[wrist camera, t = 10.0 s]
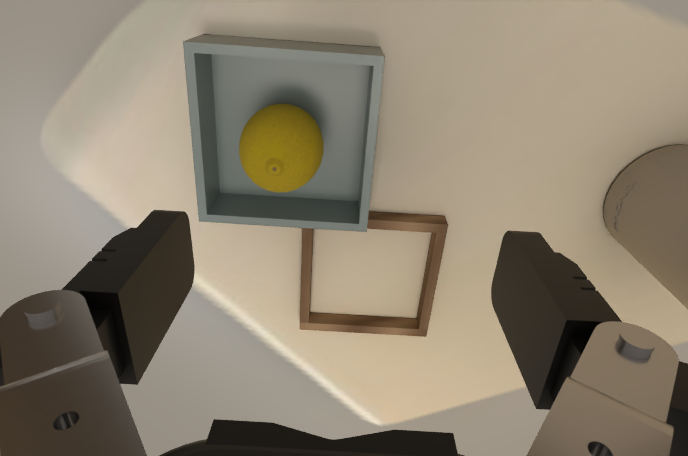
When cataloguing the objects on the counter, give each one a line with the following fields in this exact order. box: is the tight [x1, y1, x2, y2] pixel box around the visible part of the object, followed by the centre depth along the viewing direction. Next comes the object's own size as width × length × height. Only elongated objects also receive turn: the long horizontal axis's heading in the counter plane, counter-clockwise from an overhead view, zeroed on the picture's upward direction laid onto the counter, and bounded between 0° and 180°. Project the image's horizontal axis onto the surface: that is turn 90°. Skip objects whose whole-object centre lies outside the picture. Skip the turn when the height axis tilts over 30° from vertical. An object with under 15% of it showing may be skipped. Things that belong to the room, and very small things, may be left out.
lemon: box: [239, 104, 324, 193], centre depth 31 cm, size 6×6×8 cm
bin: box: [183, 34, 385, 232], centre depth 33 cm, size 12×12×4 cm
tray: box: [300, 212, 448, 337], centre depth 40 cm, size 12×12×2 cm
